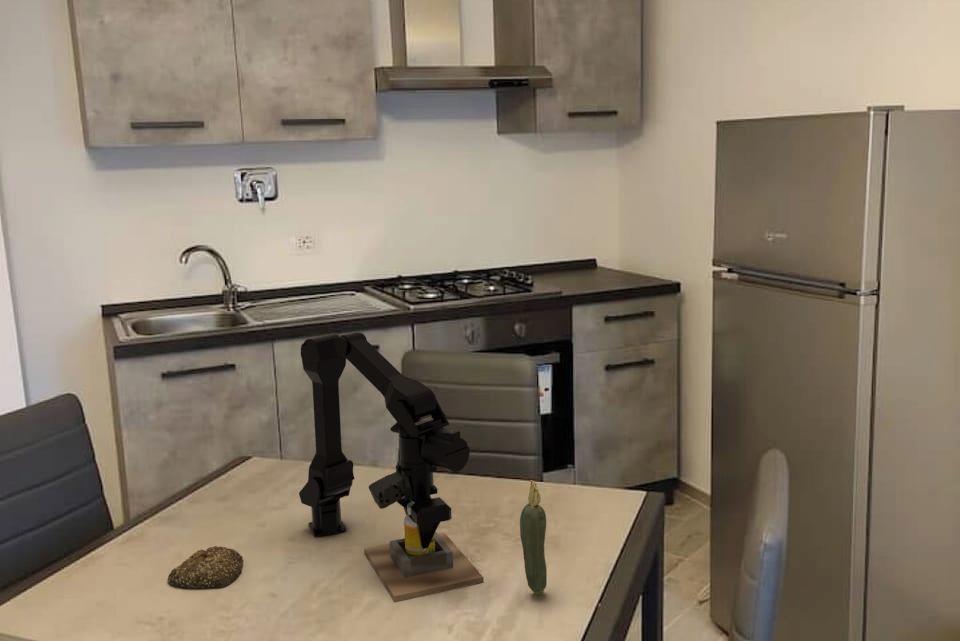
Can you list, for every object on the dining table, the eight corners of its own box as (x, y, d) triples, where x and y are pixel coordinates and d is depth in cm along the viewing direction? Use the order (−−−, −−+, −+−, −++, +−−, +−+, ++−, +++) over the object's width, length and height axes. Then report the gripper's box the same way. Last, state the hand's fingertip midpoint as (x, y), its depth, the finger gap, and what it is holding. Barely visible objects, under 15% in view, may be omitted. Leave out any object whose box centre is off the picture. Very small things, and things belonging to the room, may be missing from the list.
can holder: (364, 553, 164) (363, 533, 163) (444, 537, 170) (443, 517, 169) (394, 601, 146) (393, 579, 145) (483, 582, 151) (482, 560, 151)
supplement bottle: (408, 547, 160) (405, 498, 158) (437, 548, 160) (435, 498, 158) (403, 561, 155) (400, 510, 153) (433, 561, 154) (431, 510, 153)
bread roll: (225, 593, 151) (222, 567, 150) (159, 589, 153) (156, 563, 152) (257, 560, 163) (254, 535, 162) (195, 556, 165) (193, 532, 165)
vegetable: (545, 603, 144) (543, 488, 140) (519, 601, 145) (517, 487, 141) (549, 590, 148) (547, 478, 144) (523, 588, 149) (521, 477, 145)
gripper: (358, 449, 160) (363, 529, 162) (386, 484, 142) (391, 572, 145) (416, 440, 164) (420, 519, 166) (451, 473, 146) (454, 559, 149)
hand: (419, 541), depth 157 cm, fingers closed on supplement bottle, 5 cm apart
